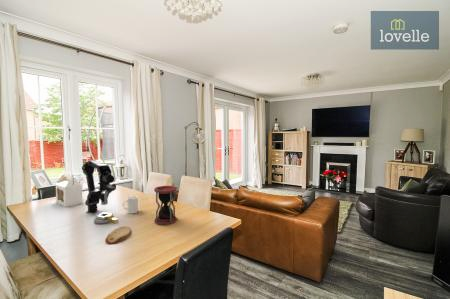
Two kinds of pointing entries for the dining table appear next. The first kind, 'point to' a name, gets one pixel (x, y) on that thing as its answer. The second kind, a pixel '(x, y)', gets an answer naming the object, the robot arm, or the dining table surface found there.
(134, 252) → the dining table surface
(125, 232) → the slice of bread
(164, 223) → the hourglass
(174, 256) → the dining table surface
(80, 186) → the gable box
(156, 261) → the dining table surface
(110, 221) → the rosette
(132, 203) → the mug
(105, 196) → the wedge pin
